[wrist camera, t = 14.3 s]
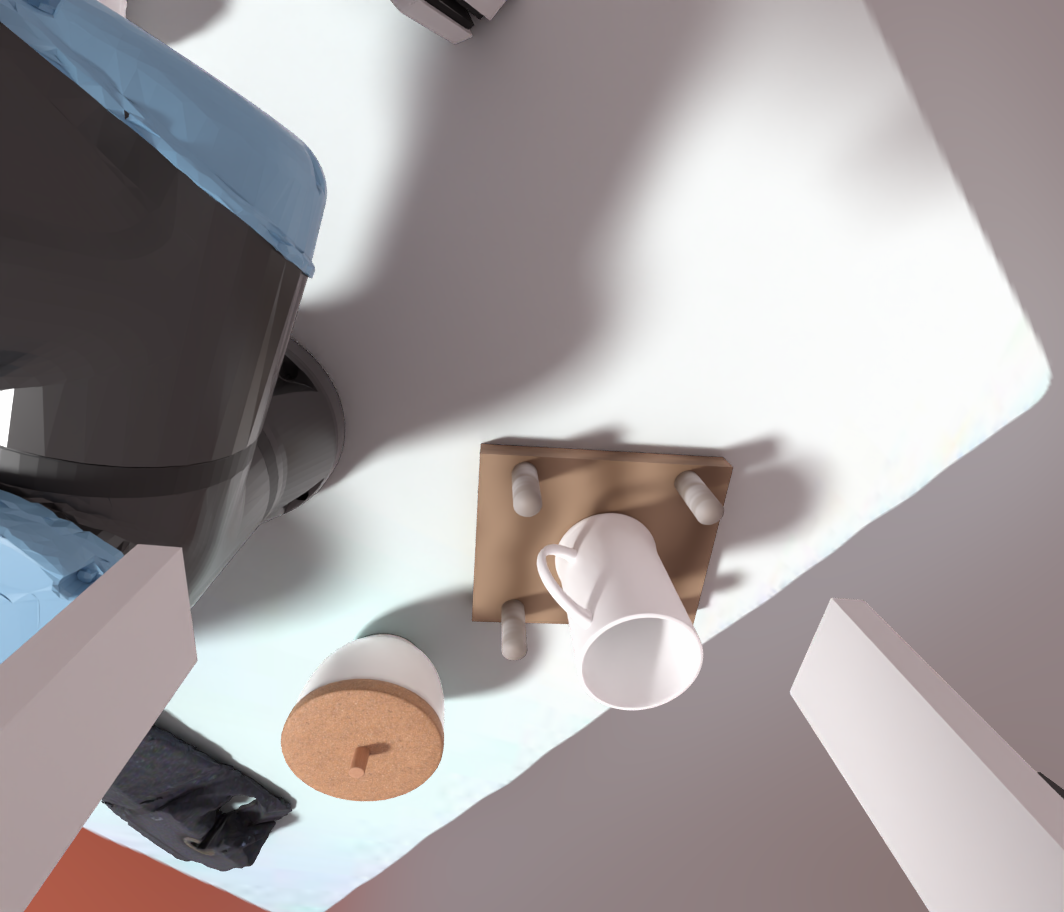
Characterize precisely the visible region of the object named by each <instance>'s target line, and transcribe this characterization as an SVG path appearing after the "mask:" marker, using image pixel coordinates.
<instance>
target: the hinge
mask: <svg viewBox="0 0 1064 912" xmlns="http://www.w3.org/2000/svg"><path fill="white" fill-rule="evenodd" d="M391 1H392V3H393V4H394V5H395V7H396V8H397V9H398V10H399V11H400V12H401V13H403V14H404V15H406V16H408V17H409V18H411V19H413V20H414V21H416V22H418V23H419V24H421V25H423V26H424V27H426V28H428V29H429V30H431V31H433V32H434V33H436V34H438V35H439V36H441V37H443V38H445V39H446V40H448V41H450V42H451V43H453V44H457V43H460V42H462V41H464V40H466V39H468V38H470V37H472V36H473V35H472V33H471V31H470V28H471V27H472V26H474V24H473V22H472V20H471V18H470V16H469V14H468V12H467V10H468V11H470V12H471V13H472V14H473V15H475V16H476V17H477V18H479V19H481V18H483V17H484V16H485V17H486V18H487V19H489V20H490V21H491V19H492V18H493V17H494V16H495V14H496V13H497V12H498V10H499V9H500V8H501V7H502V5H503V4H504V3H505V2H506V0H391ZM466 9H467V10H466Z"/></svg>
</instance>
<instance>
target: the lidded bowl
mask: <svg viewBox="0 0 1064 912" xmlns="http://www.w3.org/2000/svg"><path fill="white" fill-rule="evenodd" d="M444 716H445V707H444V695H443V689H442V684H441V681H440V678H439V675H438V673H437V671H436V668H435V667H434V665H433V664H432V662H431V661H430V659H429V658H428V657H427V656H426V655H425V654H424V653H423V652H422V651H421V650H420V649H418V648H417V647H416V646H415V645H414V644H413V643H411V642H410V641H408V640H407V639H405V638H402V637H400V636H396V635H392V634H375V635H370V636H367V637H365V638H360V639H357V640H354V641H351V642H349V643H347V644H345V645H343V646H342V647H340V648H338V649H337V650H335V651H334V652H333V653H331V654H330V655H329V656H328V657H327V658H326V659H324V661H323V662H322V663H321V664H320V665H319V666H318V667H317V669H316V670H315V671H314V673H313V674H312V675H311V677H310V678H309V680H308V682H307V683H306V685H305V687H304V688H303V690H302V692H301V694H300V696H299V698H298V700H297V702H296V704H295V706H294V708H293V709H292V711H291V713H290V714H289V716H288V718H287V720H286V722H285V725H284V728H283V731H282V735H281V747H282V752H283V755H284V758H285V761H286V763H287V764H288V766H289V767H290V769H291V770H292V771H293V772H294V774H295V775H296V776H297V777H298V778H299V779H301V780H302V781H303V782H304V783H306V784H307V785H309V786H310V787H312V788H314V789H315V790H317V791H320V792H322V793H324V794H327V795H330V796H333V797H336V798H341V799H346V800H354V801H377V800H385V799H390V798H394V797H397V796H400V795H403V794H406V793H408V792H410V791H412V790H414V789H416V788H417V787H419V786H420V785H422V784H423V783H424V782H425V781H426V780H427V779H428V778H429V777H430V776H431V775H432V774H433V773H434V771H435V770H436V769H437V767H438V765H439V763H440V761H441V758H442V753H443V747H444Z"/></svg>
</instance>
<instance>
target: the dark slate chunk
mask: <svg viewBox="0 0 1064 912" xmlns="http://www.w3.org/2000/svg"><path fill="white" fill-rule="evenodd" d="M196 748H197V747H194V746H193V745H187V744H185V743H184V741H183V740H180V739H177V738H176V737H174V736H173V735H172V734H171V733H169V732H167V731H163V730H161V729H159V728H157V727H155V726H154V725H153V726H152V727H151V728H150V730H149V731H148V733H147V734H146V736H145V737H144V739H143V740H142V741H141V743H140V744H139V746H138V747H137V749H136V750H135V752H134V753H133V754H132V756H131V757H130V759H129V760H128V762H127V763H126V765H125V766H124V767H123V769H122V770H121V772H120V773H119V775H118V776H117V778H116V779H115V780H114V782H113V783H112V785H111V786H110V788H109V789H108V791H107V792H106V793H105V795H104V796H103V798H102V800H103V801H104V802H105V803H104V802H103V801H101V802H102V803H104V804H106V805H107V806H108V808H110V809H111V810H112V811H113V812H114V813H115V814H116V815H118V816H120V818H121V819H123V820H125V821H127V822H128V825H129V826H131V827H133V828H134V829H135V830H136V831H138V832H140V833H141V834H142V835H143V836H144V837H146V838H148V839H149V840H150V841H152V842H153V843H154V844H156V845H157V846H159V847H160V848H162V849H164V850H165V851H167V852H168V853H170V854H172V855H173V856H174V857H175V858H177V859H180V860H183V861H195V862H199V863H202V864H204V865H205V866H207V867H210V868H213V869H217V870H219V871H228V870H231V869H233V868H243V867H246V866H251V865H253V863H254V862H255V860H256V858H257V856H258V854H259V852H260V850H261V847H262V846H263V844H264V843H265V841H266V840H267V838H268V836H269V833H270V832H271V830H272V828H273V827H274V825H275V824H276V822H275V820H279V819H281V818H282V817H283V816H285V815H287V814H288V813H289V812H291V811H292V810H291V807H290V803H287V802H286V801H285V800H284V799H283V798H281V797H280V798H277V797H275V796H273V795H271V794H270V793H269V792H268V791H267V790H265V789H264V788H263V787H262V786H261V785H259V784H258V783H257V782H255V781H254V780H253V779H252V778H249V777H246V776H244V775H243V774H242V773H241V772H240V771H236V770H233V766H228V765H224V764H219V763H217V762H216V761H214V760H213V759H211V758H210V757H209V756H208V755H207V754H205V753H203V752H200V751H196ZM235 795H245V796H249V797H255V798H256V800H253V801H252V802H251V803H249V804H246V805H242V806H240V807H239V808H238V810H234V811H231V812H229V813H227V814H221V813H222V812H221V811H219V809H220V808H221V806H222V805H224V804H225V803H226V802H228V801H229V800H230V799H231V798H232V797H233V796H235Z"/></svg>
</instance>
